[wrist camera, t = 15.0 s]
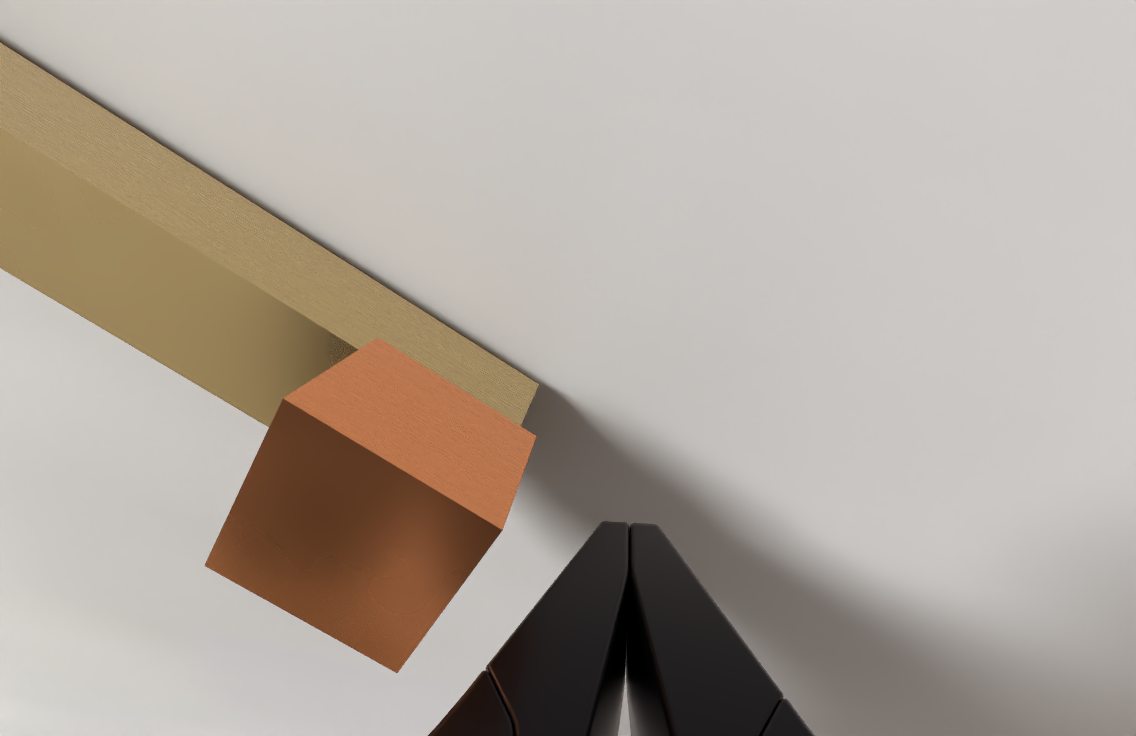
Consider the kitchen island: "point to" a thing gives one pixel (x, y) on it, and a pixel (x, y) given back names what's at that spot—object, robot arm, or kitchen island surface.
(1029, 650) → the kitchen island surface
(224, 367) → the lock bar
